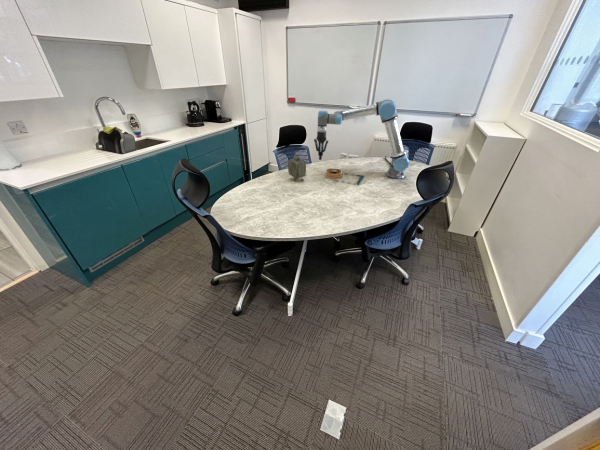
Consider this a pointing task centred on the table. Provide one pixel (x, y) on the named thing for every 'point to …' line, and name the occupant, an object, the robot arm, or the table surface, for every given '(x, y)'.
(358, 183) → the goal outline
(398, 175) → the robot arm
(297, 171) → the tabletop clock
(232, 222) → the table surface
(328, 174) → the bowl
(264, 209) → the table surface
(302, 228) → the table surface
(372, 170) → the table surface
